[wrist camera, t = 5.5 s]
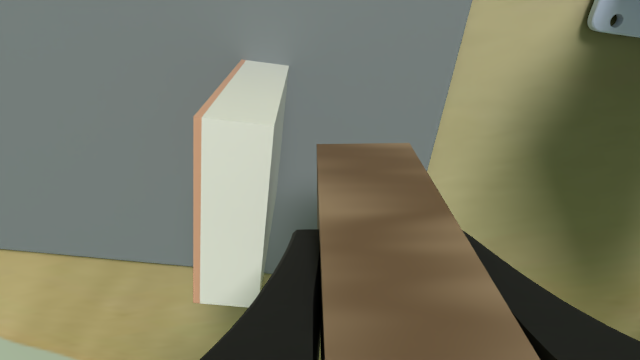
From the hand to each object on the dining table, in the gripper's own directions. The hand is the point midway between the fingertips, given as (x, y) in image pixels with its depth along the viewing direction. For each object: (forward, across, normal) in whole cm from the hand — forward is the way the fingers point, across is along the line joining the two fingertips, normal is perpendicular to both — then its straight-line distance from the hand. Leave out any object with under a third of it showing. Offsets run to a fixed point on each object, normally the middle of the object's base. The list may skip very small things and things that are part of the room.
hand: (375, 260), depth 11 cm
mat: (+9, +7, -1) cm, 12 cm away
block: (+4, 0, 0) cm, 4 cm away
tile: (+9, +4, -1) cm, 10 cm away
